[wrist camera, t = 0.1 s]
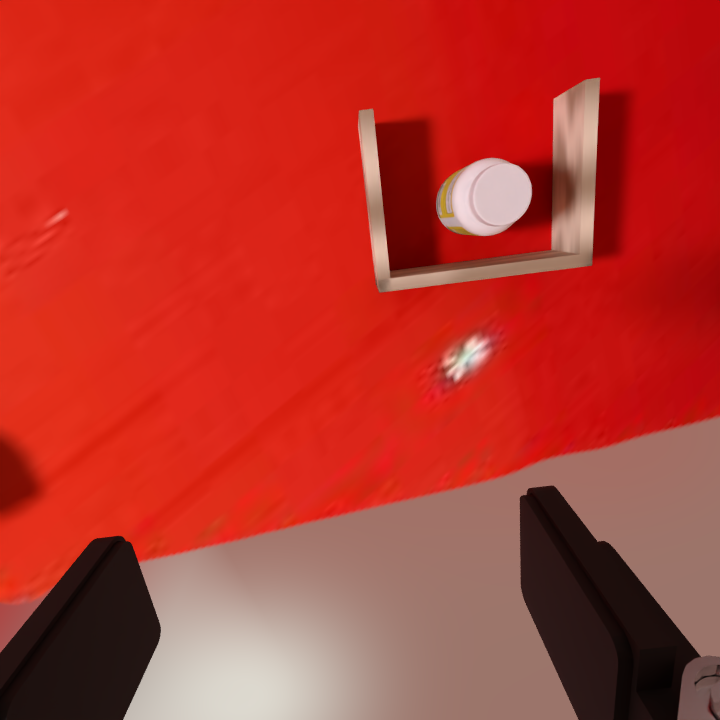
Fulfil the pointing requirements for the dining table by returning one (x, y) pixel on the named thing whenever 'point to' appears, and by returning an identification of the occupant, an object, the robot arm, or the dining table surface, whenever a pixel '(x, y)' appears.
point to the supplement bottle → (484, 197)
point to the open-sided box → (569, 202)
